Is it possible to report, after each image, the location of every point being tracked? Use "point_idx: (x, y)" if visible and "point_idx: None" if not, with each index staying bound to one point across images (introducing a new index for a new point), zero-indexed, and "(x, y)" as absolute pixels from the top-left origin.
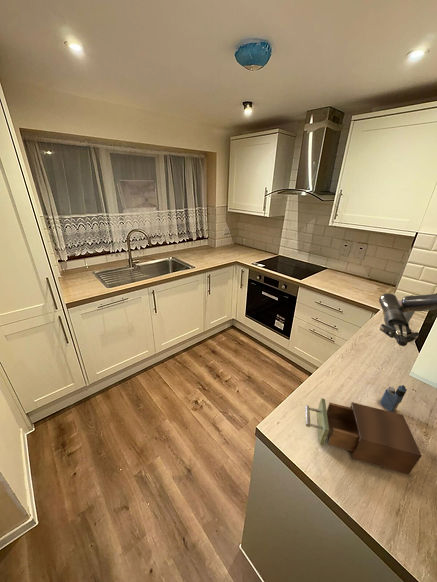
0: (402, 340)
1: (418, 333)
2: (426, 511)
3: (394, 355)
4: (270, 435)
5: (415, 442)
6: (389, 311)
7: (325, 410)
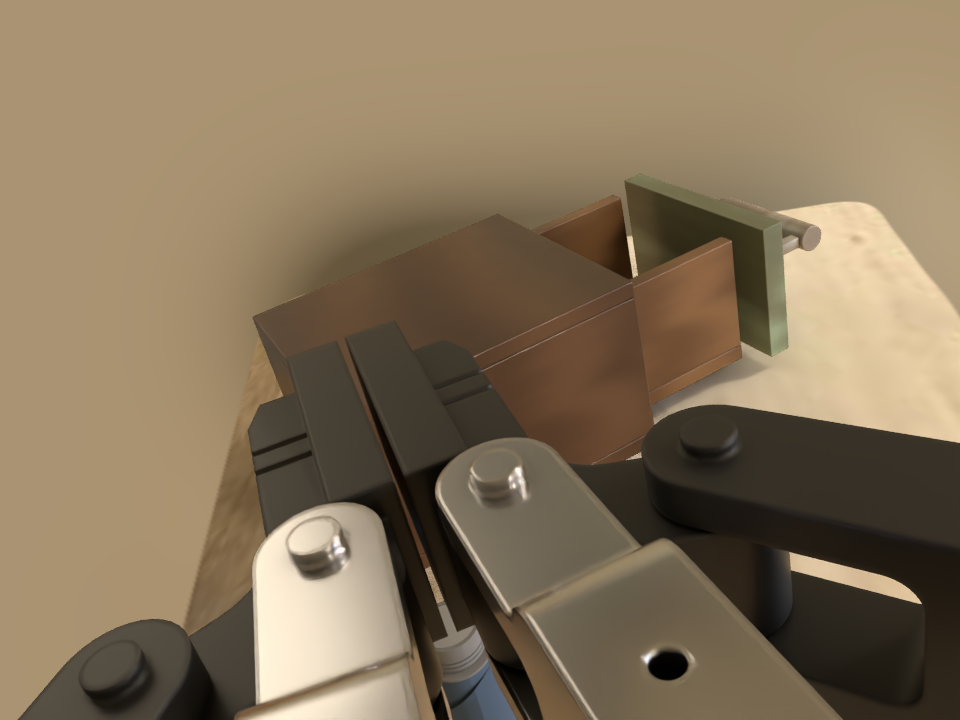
0: (373, 334)
1: None
2: (254, 405)
3: None
4: (818, 208)
5: (273, 341)
6: None
7: (704, 204)
